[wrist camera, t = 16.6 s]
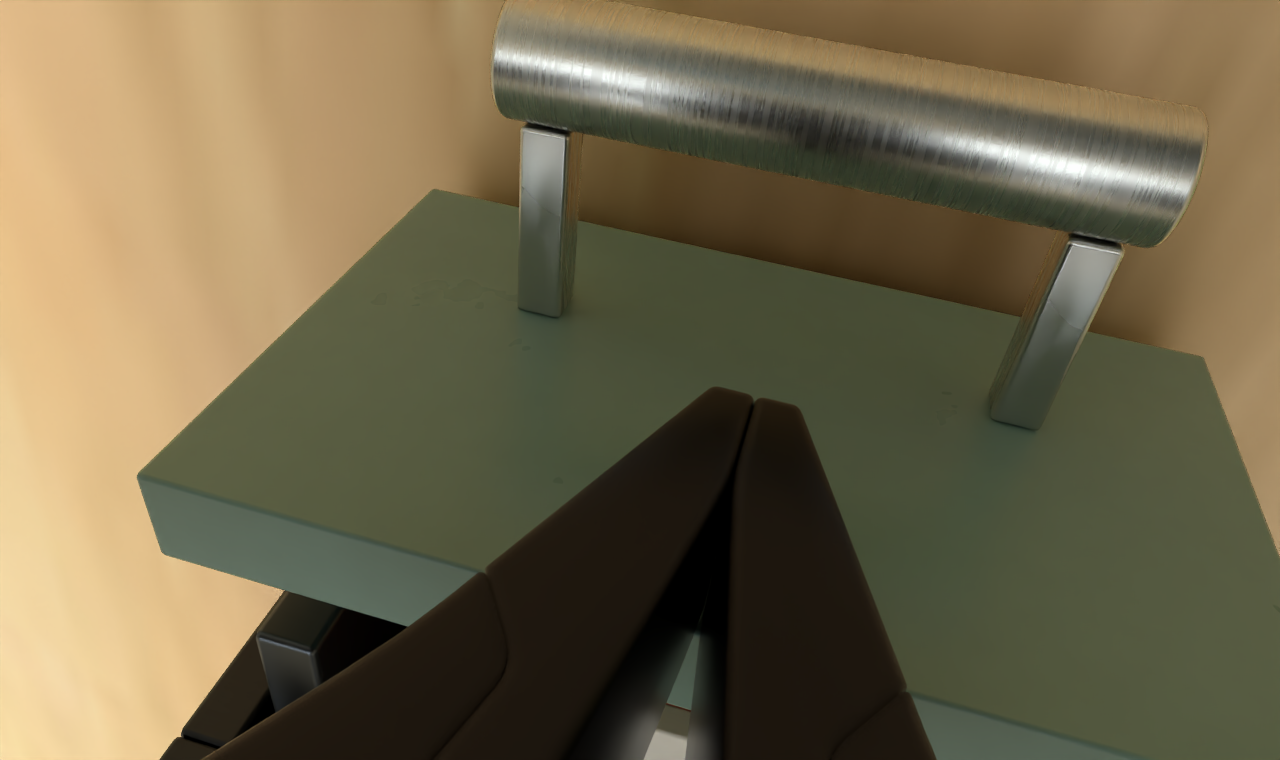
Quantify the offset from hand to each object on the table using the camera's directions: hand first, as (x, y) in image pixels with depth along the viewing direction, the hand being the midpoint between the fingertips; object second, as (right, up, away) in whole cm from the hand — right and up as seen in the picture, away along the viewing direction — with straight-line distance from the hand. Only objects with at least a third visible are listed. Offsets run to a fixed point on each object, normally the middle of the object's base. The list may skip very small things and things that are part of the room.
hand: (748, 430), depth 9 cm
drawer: (+1, -1, +7) cm, 7 cm away
